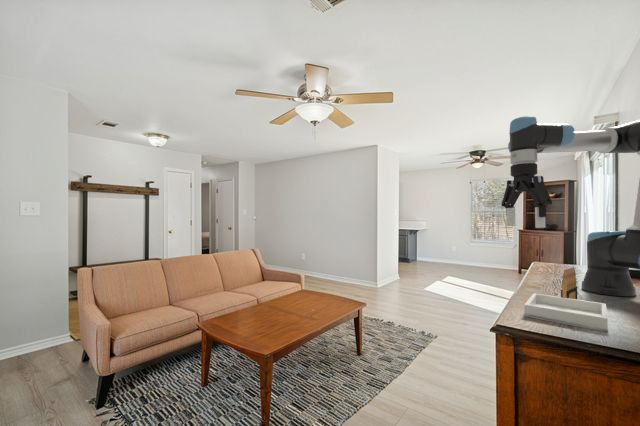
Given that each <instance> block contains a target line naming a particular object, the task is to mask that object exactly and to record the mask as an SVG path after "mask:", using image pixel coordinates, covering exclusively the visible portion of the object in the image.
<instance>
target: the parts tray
mask: <svg viewBox="0 0 640 426" xmlns="http://www.w3.org/2000/svg"><path fill="white" fill-rule="evenodd" d="M607 311H608V308H607V304H606V303H604V302H597V301H592V300H591V301H589V300H582V299H578V298H577V299H570V298H563V297H561V296H555V295H549V294H541V293H535V292H533V293H532V294H531V296H530V297H529V298H528V299H527V301H526V302H525V303H524V309H523V312H524V314H523V315H524V317H527V318H532V319H537V320H542V321H546V322H552V323H557V324H563V325H568V326H573V327H577V328H584V329H588V330H593V331H599V332H602V333H603V332H605V333H608V331H609V330H608V329H609V327H608V325H609V324H608V312H607Z"/></svg>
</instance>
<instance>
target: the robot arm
mask: <svg viewBox="0 0 640 426" xmlns="http://www.w3.org/2000/svg"><path fill="white" fill-rule="evenodd" d="M507 149H508V152H509V153H510V165H511V166H510V176H511V177H513V180H507V181H506V188H505V191H504V195H503V197H502V200H501V207H504V208H505V216H506V227H516V206H515V205H516V202H517V200H518V199H519V197H520V195H521V194H523V193H524V192H526V193H528V195H529V196H530V198H531V199H532V200H533V202H534V203H535V206H534V218H535V220H534V222H535V223H534V225H535V229H543V228H546V217H547V207H548V206H549V205H551V206H552V204H553V200H552V198H551V195H550V194H549V191H548V189H547V187H546V185H545V181H544V176H543V175H538V164H537V162H538V154H548V153H553V154H554V153H576V152H577V153H578V152H579V153H580V152H597V153H599V154H634V153H636V154H637V155H638V156H639V157H640V119H638V120H634V121H631V122H628V123H627V122H626V123H624V124H621V125H617V126H612V127H604V128H601V129H600V130H587V131H586V130H584V131H583V130H582V131H575V128H574V126H573V125H572V124H570V123H562V122H559V123H538V121H537V117H536V116H533V115H525V116H524V115H523V116H520V117H517V118H514V119H512V120H511V121H510V123H509V142H508V143H507ZM636 196H637V197H636V201H635V209H634V216H633V222H632V223H633V224H632V225H630V226H629V227H627V228H626V229H625V230H612V231H611V230H610V231H606V230H605V231H595V232H590V233H588V234H587V239H586V240H587V241H586V257H587V258H586V259H587V260H586V261H587V270H586V272H585V275H584V278H583V281H581V289H582V290H584V291H586V292H591V293H596V294H600V295H607V296H617V297H635V296H636V295H637V289H636V287H635V286H634V283H633V280H632V278H631V275H630V269H634V270H639V271H640V178H639V182H638V187H637V194H636Z"/></svg>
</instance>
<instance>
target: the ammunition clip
mask: <svg viewBox="0 0 640 426" xmlns="http://www.w3.org/2000/svg"><path fill="white" fill-rule="evenodd" d="M562 272H563V273H562V281H561V290H560V297H563V298H570V299H577V300H578V286H577V275H576V270H575V267H574V266H572V267H570V268H566V269H564V270H563V271H562Z"/></svg>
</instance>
